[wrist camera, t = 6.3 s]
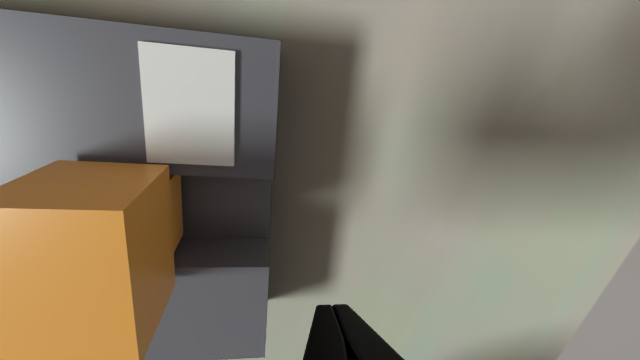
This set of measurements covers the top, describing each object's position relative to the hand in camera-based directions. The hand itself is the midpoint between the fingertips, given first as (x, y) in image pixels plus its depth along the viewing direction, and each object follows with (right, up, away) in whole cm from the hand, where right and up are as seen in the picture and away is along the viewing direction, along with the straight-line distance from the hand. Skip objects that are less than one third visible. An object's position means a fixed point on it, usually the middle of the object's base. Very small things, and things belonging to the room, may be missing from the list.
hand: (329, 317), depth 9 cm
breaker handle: (-8, +3, +6) cm, 10 cm away
